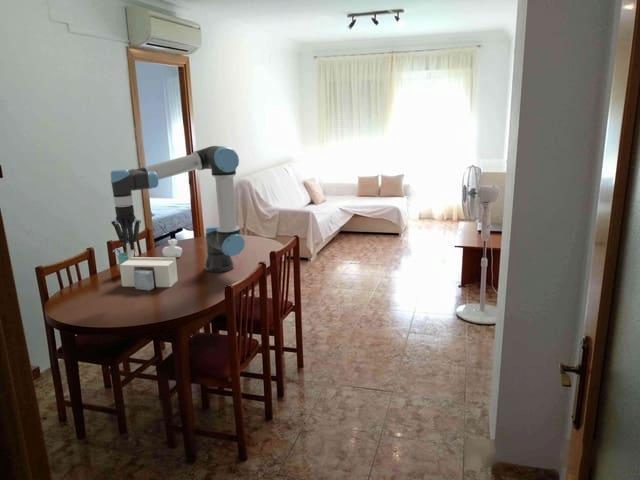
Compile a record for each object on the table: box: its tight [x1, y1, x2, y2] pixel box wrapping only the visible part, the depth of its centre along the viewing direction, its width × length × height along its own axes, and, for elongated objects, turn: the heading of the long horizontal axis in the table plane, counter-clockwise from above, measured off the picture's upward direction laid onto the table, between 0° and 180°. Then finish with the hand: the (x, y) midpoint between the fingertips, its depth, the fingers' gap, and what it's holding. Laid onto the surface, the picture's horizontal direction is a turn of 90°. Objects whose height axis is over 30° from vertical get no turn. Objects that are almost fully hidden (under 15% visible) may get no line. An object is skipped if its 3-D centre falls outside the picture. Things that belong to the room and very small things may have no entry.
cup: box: [111, 248, 136, 265], centre depth 258 cm, size 14×8×15 cm, turn 157°
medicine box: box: [134, 270, 155, 291], centre depth 237 cm, size 8×4×9 cm, turn 68°
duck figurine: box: [161, 238, 183, 258], centre depth 291 cm, size 12×8×11 cm
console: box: [119, 256, 179, 288], centre depth 244 cm, size 24×10×12 cm, turn 84°
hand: (131, 256), depth 225 cm, fingers closed
